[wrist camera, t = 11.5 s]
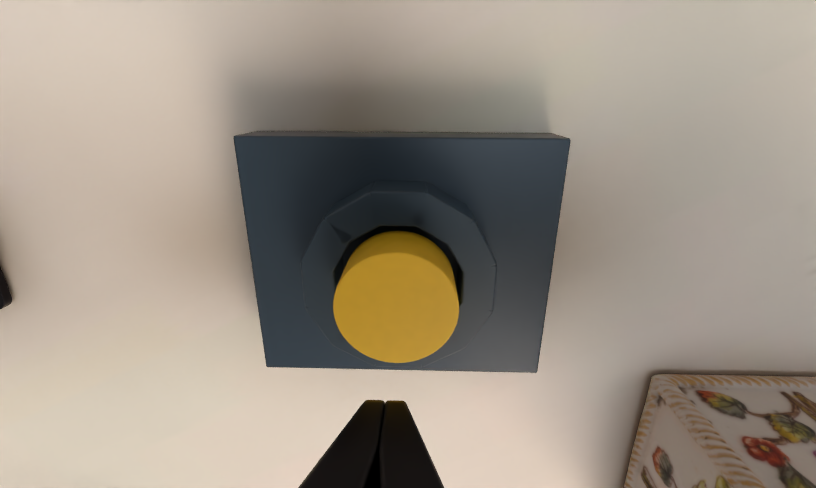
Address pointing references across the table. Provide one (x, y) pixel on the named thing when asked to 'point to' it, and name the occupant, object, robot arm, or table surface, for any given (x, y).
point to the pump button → (397, 298)
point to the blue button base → (403, 211)
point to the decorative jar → (726, 433)
